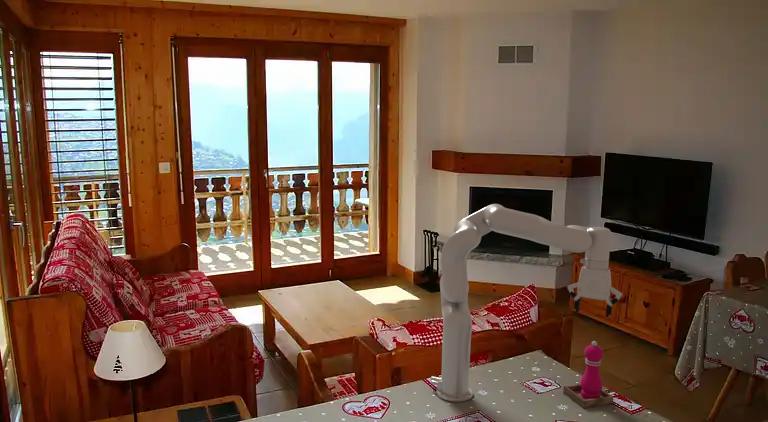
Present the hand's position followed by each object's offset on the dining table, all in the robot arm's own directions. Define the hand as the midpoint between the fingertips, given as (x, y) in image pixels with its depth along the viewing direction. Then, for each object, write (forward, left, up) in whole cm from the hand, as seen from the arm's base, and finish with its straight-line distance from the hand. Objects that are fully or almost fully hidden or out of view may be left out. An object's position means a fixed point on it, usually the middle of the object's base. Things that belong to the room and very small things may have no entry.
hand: (592, 313), depth 201 cm
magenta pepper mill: (+1, +1, -30) cm, 30 cm away
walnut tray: (0, 0, -30) cm, 30 cm away
